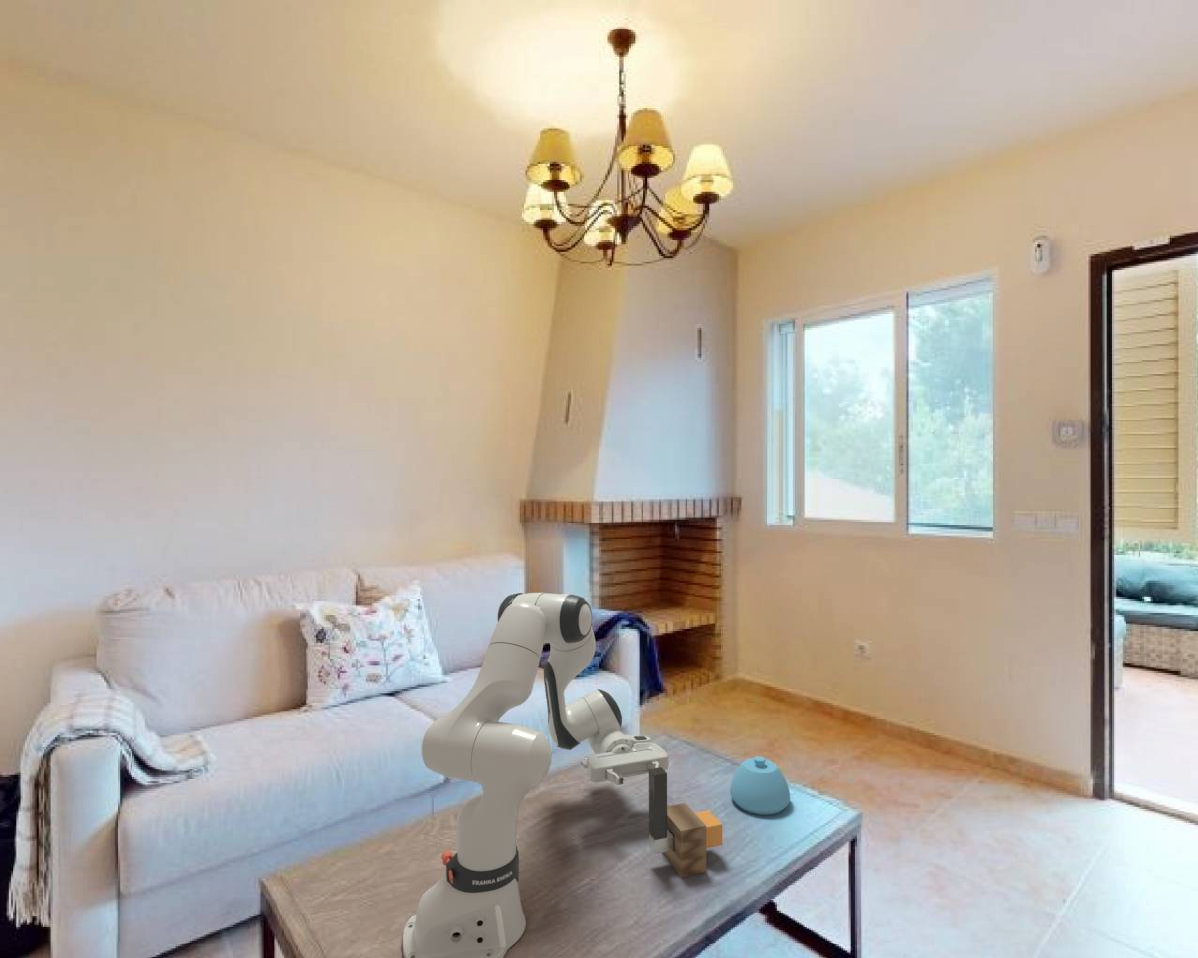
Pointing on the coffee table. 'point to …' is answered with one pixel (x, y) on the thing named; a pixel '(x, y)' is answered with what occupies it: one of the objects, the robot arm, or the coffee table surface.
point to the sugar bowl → (760, 787)
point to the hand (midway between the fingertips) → (639, 778)
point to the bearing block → (686, 841)
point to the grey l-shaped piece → (659, 813)
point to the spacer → (711, 828)
